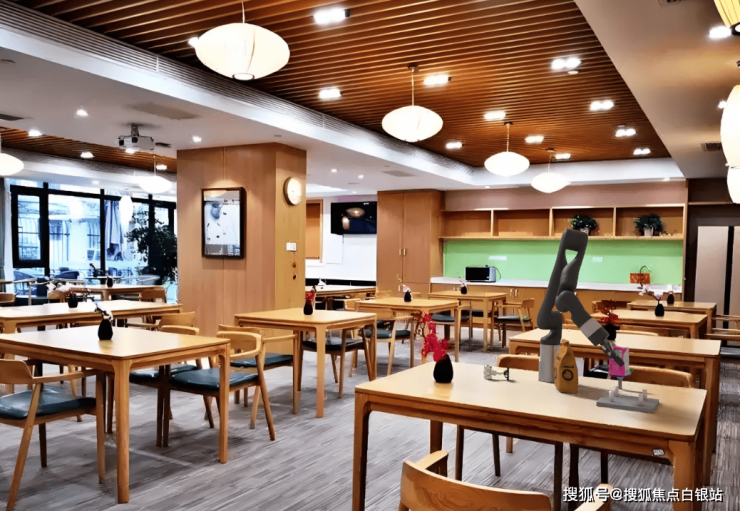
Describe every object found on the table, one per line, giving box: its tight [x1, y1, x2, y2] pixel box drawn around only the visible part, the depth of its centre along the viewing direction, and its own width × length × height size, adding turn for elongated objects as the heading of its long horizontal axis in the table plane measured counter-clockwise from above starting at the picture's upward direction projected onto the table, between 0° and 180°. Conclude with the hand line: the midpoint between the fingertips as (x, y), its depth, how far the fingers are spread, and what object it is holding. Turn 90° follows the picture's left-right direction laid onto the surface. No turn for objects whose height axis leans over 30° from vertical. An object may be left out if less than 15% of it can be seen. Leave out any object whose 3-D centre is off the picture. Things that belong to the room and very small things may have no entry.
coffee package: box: [554, 338, 579, 394], centre depth 259 cm, size 10×12×22 cm
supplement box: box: [608, 345, 630, 379], centre depth 235 cm, size 6×6×12 cm
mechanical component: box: [607, 365, 634, 390], centre depth 264 cm, size 3×10×10 cm, turn 53°
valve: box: [483, 364, 510, 381], centre depth 282 cm, size 7×7×12 cm
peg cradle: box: [595, 385, 660, 414], centre depth 235 cm, size 20×20×6 cm
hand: (624, 364), depth 234 cm, fingers closed on supplement box, 6 cm apart
